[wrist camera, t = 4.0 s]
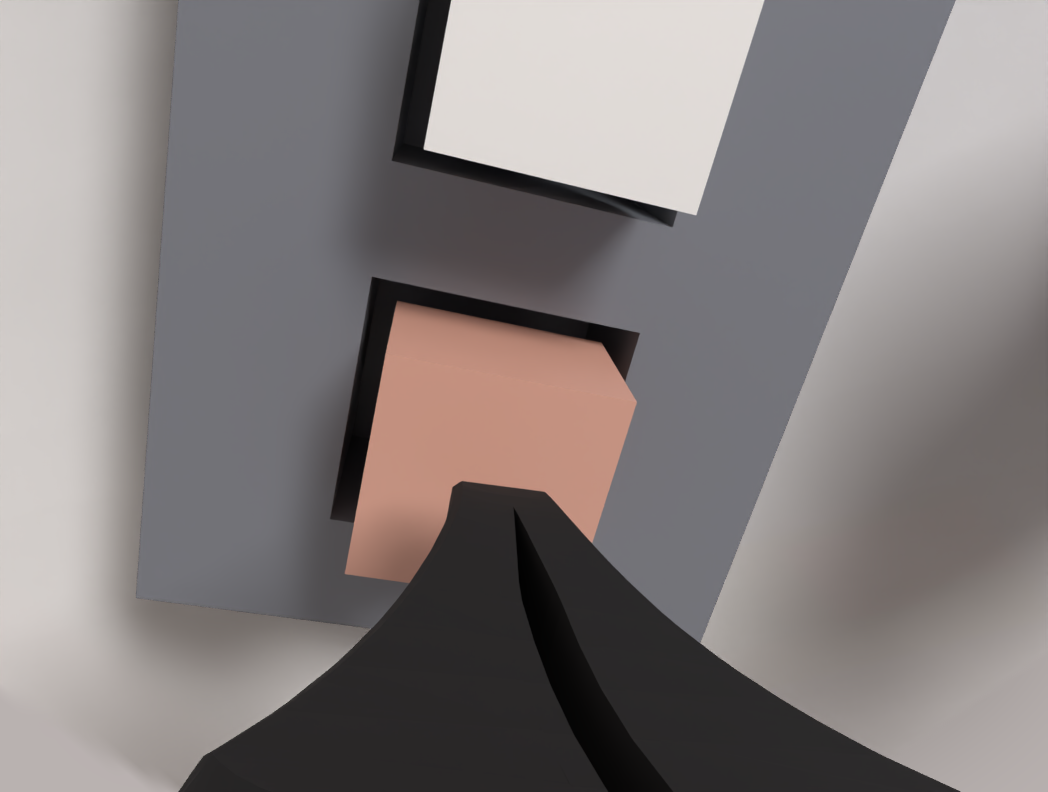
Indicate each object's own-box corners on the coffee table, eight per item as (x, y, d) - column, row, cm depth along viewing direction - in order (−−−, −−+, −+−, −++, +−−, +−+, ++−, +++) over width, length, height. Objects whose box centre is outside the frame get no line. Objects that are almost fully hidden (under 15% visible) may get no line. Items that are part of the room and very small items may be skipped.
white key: (717, -58, 12) (794, -97, 10) (645, 188, 14) (696, 215, 11) (477, -132, 12) (487, -197, 9) (427, 134, 13) (423, 149, 10)
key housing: (1043, -597, 13) (1314, -902, 9) (642, 557, 22) (689, 669, 18) (345, -934, 11) (287, -1532, 7) (201, 488, 20) (135, 598, 15)
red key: (601, 342, 15) (637, 402, 12) (550, 516, 16) (572, 605, 14) (397, 300, 14) (385, 353, 11) (362, 486, 16) (344, 573, 13)
